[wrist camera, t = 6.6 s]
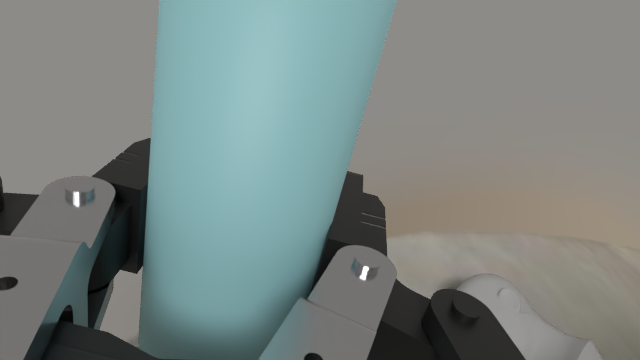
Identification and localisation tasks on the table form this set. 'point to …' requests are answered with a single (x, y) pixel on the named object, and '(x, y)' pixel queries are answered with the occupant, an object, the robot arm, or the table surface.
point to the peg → (247, 163)
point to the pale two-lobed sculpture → (526, 322)
